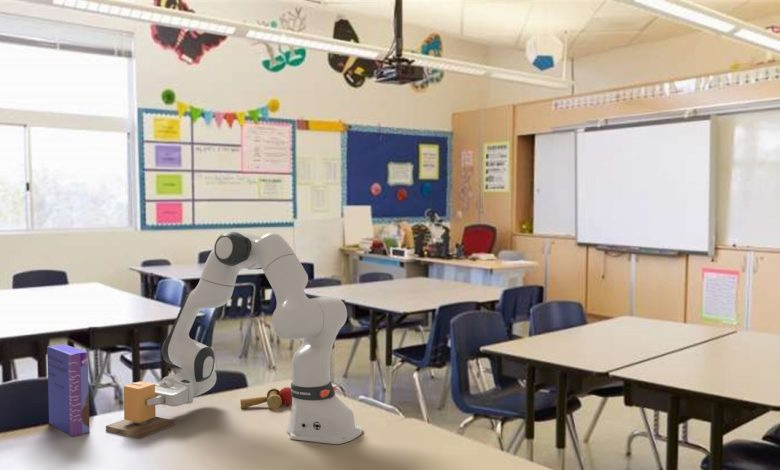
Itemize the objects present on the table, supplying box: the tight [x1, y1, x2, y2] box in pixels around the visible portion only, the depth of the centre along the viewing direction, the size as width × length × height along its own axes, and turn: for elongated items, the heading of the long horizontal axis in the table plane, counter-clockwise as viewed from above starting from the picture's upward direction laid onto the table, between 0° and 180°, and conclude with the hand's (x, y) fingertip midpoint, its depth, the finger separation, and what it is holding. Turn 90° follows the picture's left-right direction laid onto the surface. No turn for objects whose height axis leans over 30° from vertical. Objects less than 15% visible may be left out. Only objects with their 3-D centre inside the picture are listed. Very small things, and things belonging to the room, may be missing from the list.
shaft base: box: [105, 416, 175, 440], centre depth 195 cm, size 14×13×8 cm
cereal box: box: [46, 343, 91, 437], centre depth 195 cm, size 17×5×24 cm, turn 48°
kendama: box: [239, 386, 292, 410], centre depth 216 cm, size 8×6×18 cm
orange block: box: [123, 380, 157, 423], centre depth 195 cm, size 6×6×10 cm
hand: (137, 400), depth 194 cm, fingers closed on orange block, 6 cm apart
